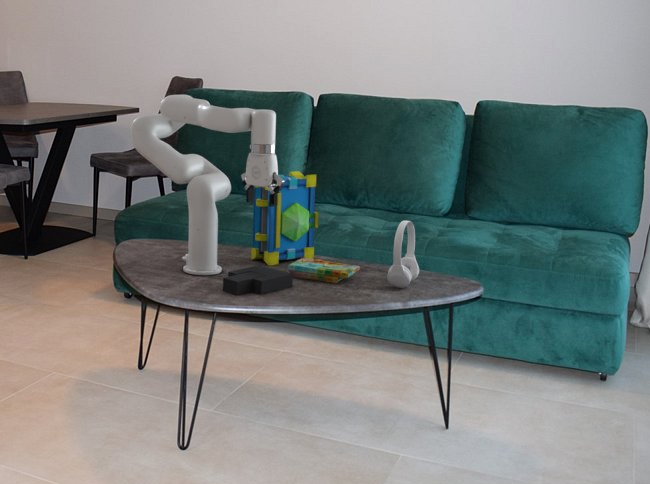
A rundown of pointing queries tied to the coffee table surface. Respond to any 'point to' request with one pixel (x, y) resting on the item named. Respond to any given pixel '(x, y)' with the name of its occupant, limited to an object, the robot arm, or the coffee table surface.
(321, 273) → the puzzle game
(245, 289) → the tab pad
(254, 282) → the notch pad
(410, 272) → the headphones
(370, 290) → the coffee table surface
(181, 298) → the coffee table surface
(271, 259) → the blue tall framed box
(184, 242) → the coffee table surface
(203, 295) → the coffee table surface
